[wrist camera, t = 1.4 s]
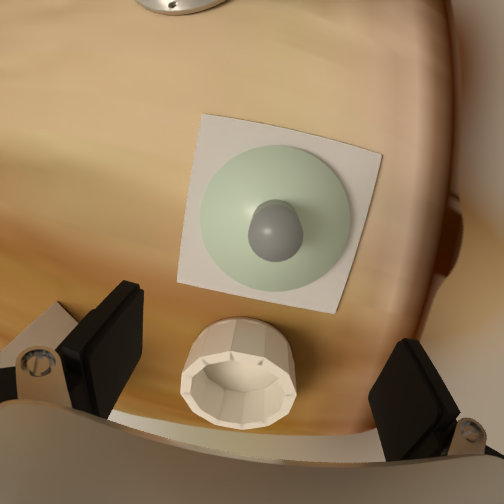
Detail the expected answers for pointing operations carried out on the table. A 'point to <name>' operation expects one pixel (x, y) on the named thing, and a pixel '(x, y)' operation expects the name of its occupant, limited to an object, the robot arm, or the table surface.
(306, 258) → the lid
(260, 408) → the bowl
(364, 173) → the mat
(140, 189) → the table surface
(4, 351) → the milk carton
